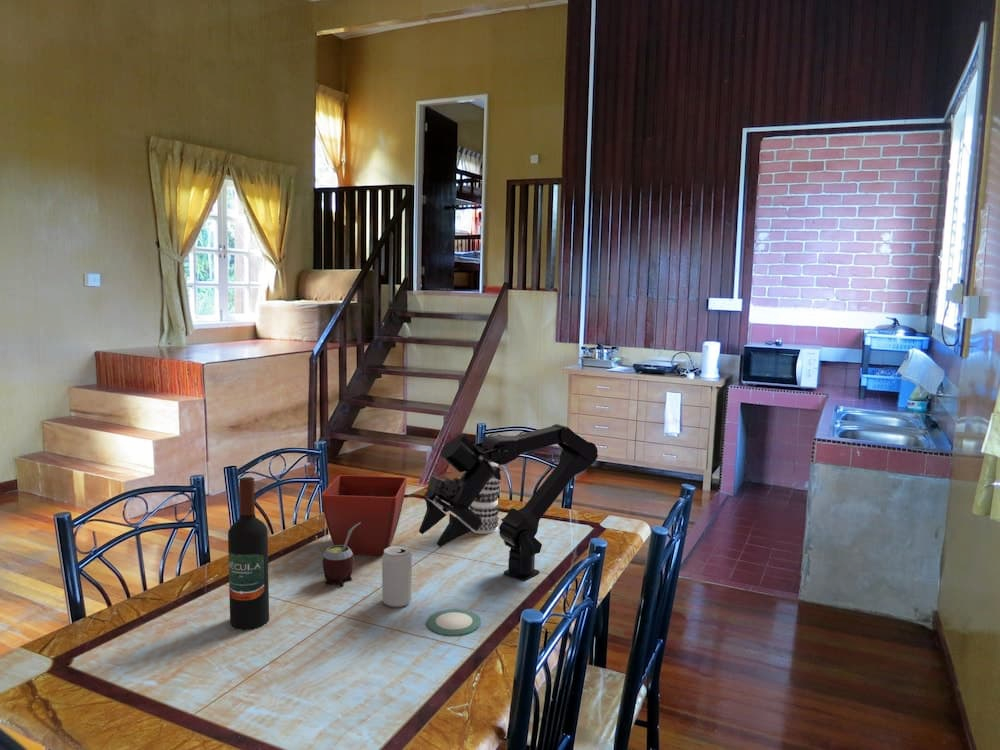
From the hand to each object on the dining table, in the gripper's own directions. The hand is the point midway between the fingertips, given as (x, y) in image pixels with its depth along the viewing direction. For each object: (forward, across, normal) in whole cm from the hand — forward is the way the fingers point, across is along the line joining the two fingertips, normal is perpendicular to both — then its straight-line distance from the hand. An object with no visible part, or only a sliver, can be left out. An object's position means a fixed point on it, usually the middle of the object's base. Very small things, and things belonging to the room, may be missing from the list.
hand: (429, 539), depth 160 cm
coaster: (+10, +15, +8) cm, 20 cm away
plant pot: (+11, -35, +7) cm, 37 cm away
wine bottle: (+35, -5, -19) cm, 40 cm away
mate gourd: (+20, -16, -2) cm, 26 cm away
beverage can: (+15, 0, +3) cm, 15 cm away
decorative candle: (-12, -33, +33) cm, 48 cm away
